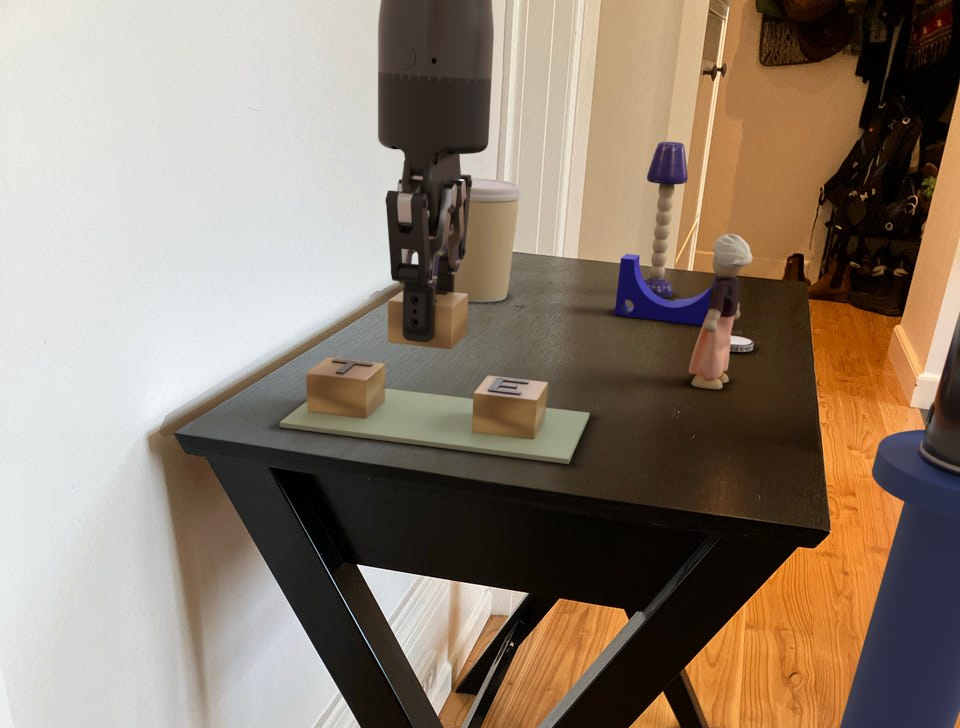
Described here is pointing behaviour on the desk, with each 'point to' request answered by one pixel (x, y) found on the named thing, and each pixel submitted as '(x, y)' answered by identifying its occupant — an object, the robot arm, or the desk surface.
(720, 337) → the grandmother figurine
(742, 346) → the washi tape
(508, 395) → the tile
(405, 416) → the word mat
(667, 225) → the toy lamp
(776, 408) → the desk surface
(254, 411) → the desk surface
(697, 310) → the blue curved cradle
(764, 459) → the desk surface
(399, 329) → the tile
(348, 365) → the tile
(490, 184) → the coffee cup
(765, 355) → the desk surface
